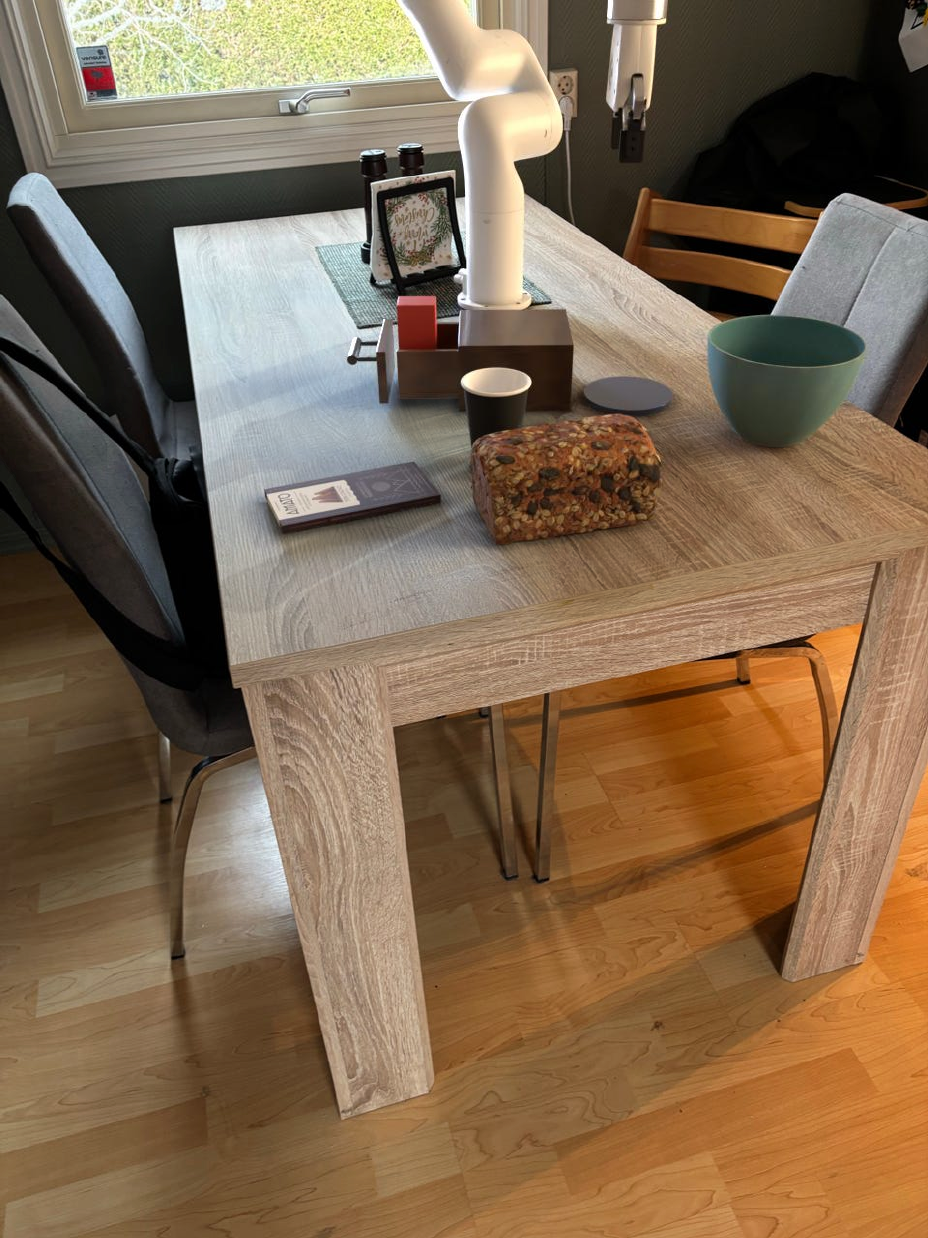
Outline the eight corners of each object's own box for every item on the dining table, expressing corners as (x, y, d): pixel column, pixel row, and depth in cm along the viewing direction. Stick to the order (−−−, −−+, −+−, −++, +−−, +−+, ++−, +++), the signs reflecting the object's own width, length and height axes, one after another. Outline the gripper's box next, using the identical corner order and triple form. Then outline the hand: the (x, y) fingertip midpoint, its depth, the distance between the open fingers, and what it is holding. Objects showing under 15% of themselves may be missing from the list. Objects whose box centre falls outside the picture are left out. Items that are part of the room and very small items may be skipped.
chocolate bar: (440, 494, 109) (281, 525, 104) (441, 501, 109) (283, 533, 104) (414, 461, 116) (263, 489, 110) (414, 468, 116) (265, 496, 111)
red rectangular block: (400, 382, 133) (396, 305, 127) (402, 371, 137) (398, 295, 131) (437, 382, 133) (434, 304, 127) (438, 371, 136) (435, 295, 130)
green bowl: (762, 478, 113) (781, 377, 106) (666, 422, 126) (677, 328, 119) (876, 446, 120) (901, 348, 113) (774, 395, 133) (790, 305, 126)
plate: (565, 398, 133) (565, 392, 133) (620, 374, 140) (620, 369, 140) (635, 423, 126) (636, 418, 126) (690, 397, 133) (690, 392, 133)
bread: (623, 482, 113) (631, 401, 107) (660, 527, 104) (670, 441, 99) (467, 502, 109) (466, 419, 104) (491, 550, 101) (492, 462, 95)
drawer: (347, 404, 130) (342, 352, 126) (357, 367, 141) (353, 318, 137) (481, 403, 130) (481, 351, 126) (480, 366, 141) (480, 317, 137)
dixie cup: (536, 479, 114) (539, 389, 107) (470, 487, 112) (469, 397, 106) (518, 450, 120) (520, 364, 114) (455, 457, 119) (454, 370, 112)
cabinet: (459, 411, 130) (458, 345, 125) (461, 371, 142) (460, 309, 137) (570, 410, 130) (574, 344, 125) (562, 370, 142) (565, 308, 136)
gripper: (600, 5, 132) (592, 144, 142) (615, 15, 118) (605, 168, 128) (656, 4, 132) (644, 143, 142) (677, 14, 118) (662, 167, 128)
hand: (625, 155), depth 135 cm, fingers open, 9 cm apart
